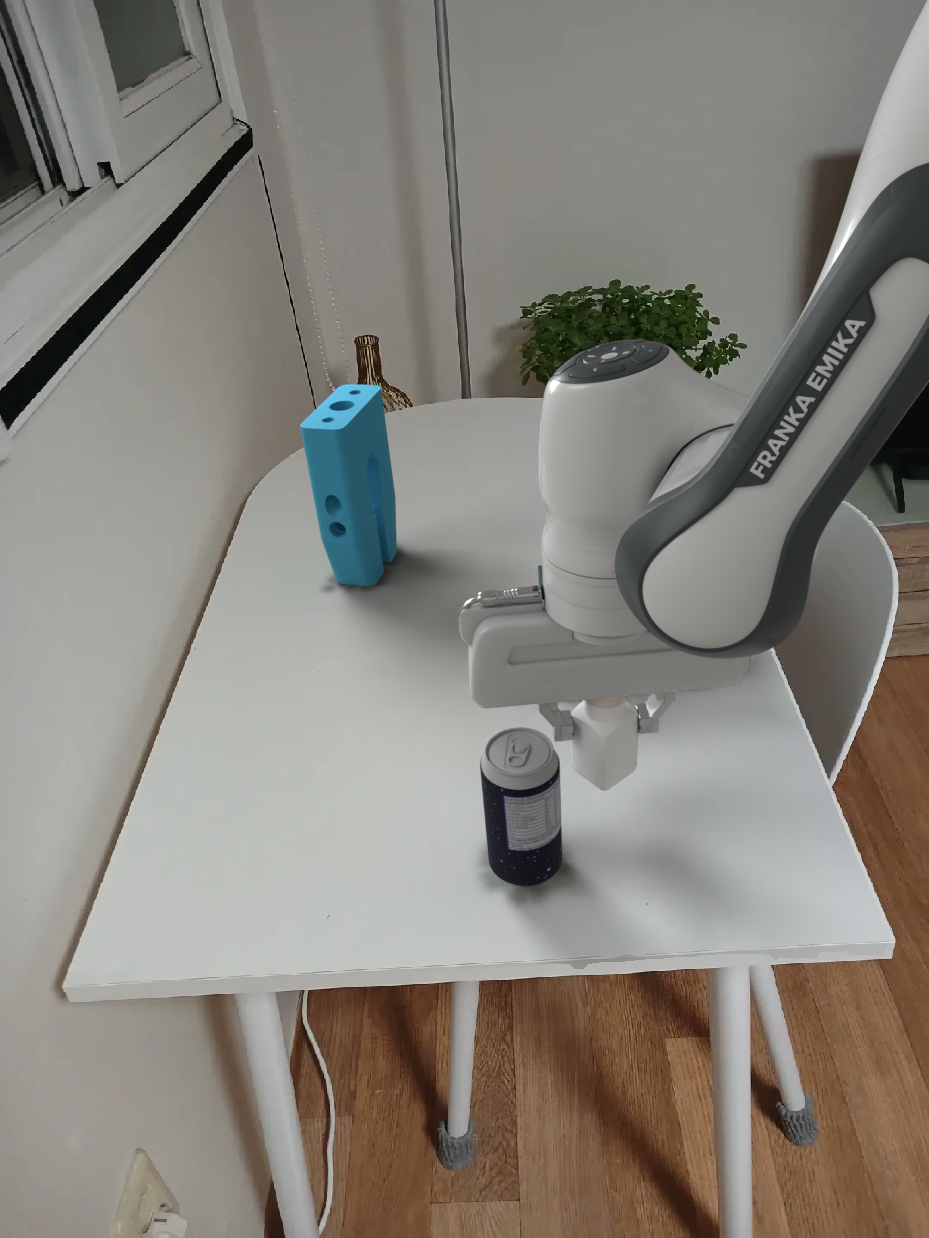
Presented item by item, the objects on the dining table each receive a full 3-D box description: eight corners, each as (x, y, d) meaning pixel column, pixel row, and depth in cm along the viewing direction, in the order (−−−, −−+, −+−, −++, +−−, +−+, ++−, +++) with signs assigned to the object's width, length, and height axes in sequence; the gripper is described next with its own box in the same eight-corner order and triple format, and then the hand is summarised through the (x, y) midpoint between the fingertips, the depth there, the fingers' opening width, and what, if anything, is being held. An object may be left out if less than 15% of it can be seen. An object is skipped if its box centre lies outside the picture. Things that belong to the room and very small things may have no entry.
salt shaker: (568, 770, 76) (566, 676, 70) (603, 746, 78) (603, 653, 72) (604, 796, 73) (605, 701, 68) (640, 771, 75) (644, 676, 70)
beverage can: (568, 842, 75) (566, 728, 69) (554, 900, 71) (550, 783, 64) (499, 831, 77) (490, 718, 70) (481, 886, 72) (469, 772, 66)
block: (366, 538, 118) (341, 384, 107) (404, 542, 117) (383, 385, 105) (327, 591, 109) (296, 427, 97) (368, 595, 107) (341, 430, 96)
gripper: (457, 620, 63) (472, 772, 71) (767, 592, 63) (747, 748, 71) (453, 570, 68) (468, 717, 76) (739, 544, 68) (724, 694, 76)
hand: (605, 731), depth 73 cm, fingers closed on salt shaker, 5 cm apart
